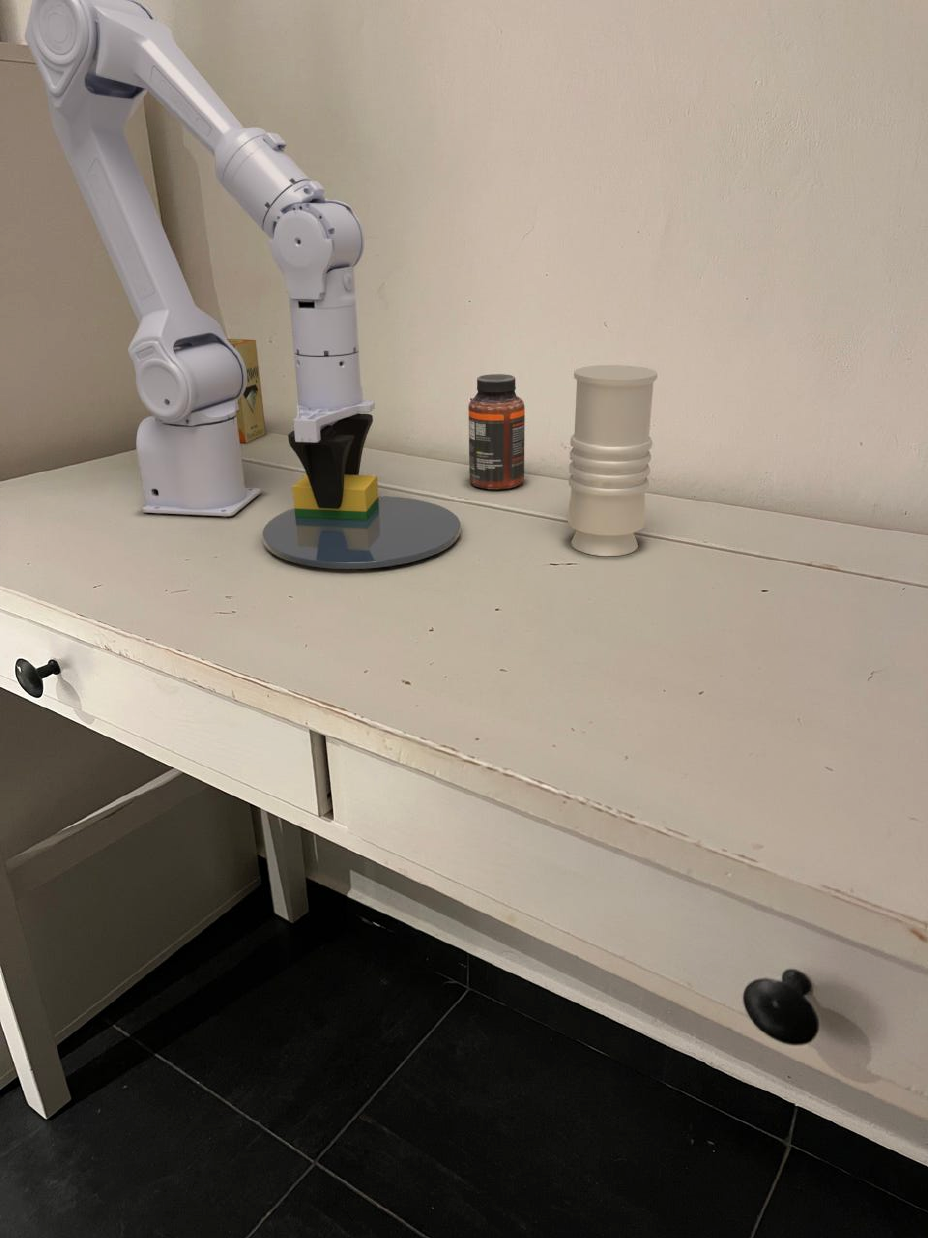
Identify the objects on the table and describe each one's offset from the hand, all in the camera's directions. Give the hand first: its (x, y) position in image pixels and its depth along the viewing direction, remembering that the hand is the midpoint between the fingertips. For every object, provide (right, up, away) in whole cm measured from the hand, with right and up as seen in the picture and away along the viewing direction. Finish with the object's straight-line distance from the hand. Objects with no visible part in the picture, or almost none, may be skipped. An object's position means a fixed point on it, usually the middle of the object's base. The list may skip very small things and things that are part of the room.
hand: (337, 499), depth 84 cm
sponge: (0, -1, +1) cm, 1 cm away
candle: (+25, -5, -5) cm, 26 cm away
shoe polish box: (-17, +12, +31) cm, 38 cm away
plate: (+3, -4, -3) cm, 5 cm away
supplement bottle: (+16, +3, +12) cm, 20 cm away
